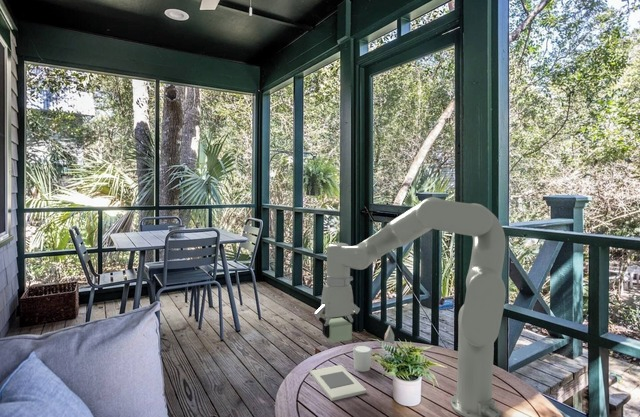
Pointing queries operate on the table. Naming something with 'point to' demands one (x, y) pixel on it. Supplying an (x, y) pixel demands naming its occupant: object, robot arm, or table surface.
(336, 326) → the sage block
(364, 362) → the white cylinder
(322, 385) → the cream flat rectangular slab
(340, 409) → the table surface
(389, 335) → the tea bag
